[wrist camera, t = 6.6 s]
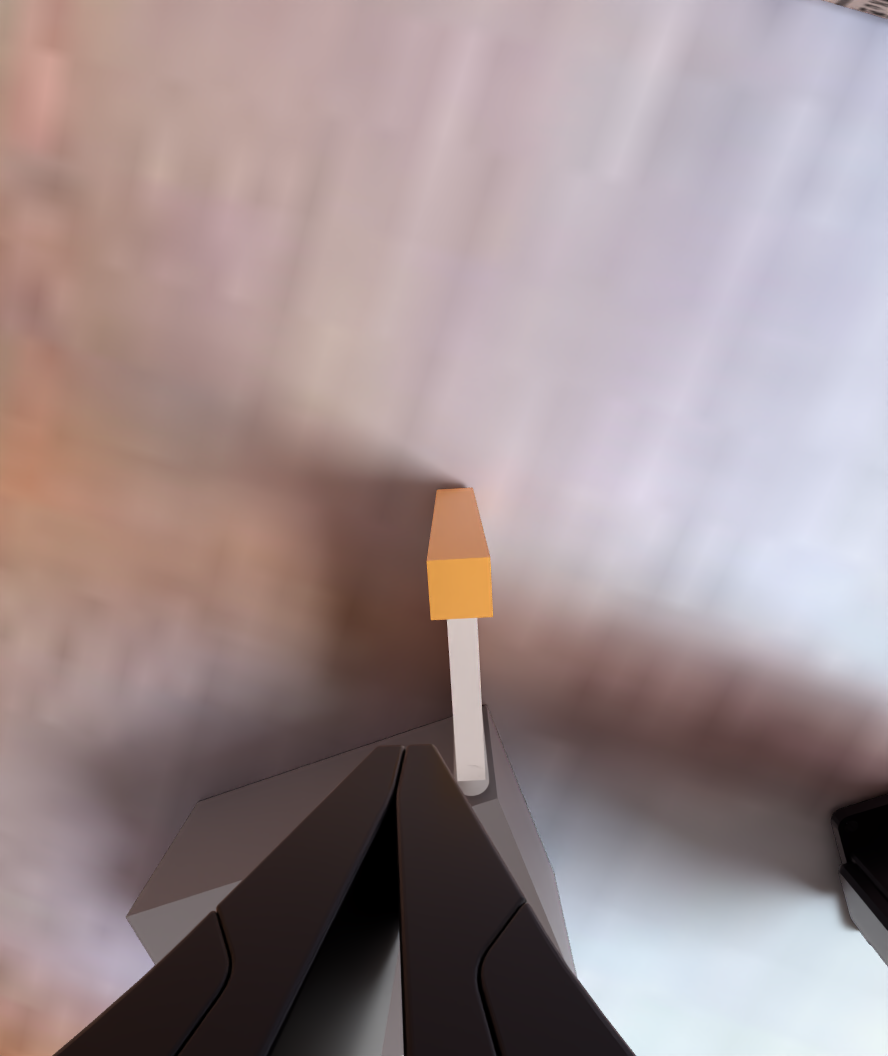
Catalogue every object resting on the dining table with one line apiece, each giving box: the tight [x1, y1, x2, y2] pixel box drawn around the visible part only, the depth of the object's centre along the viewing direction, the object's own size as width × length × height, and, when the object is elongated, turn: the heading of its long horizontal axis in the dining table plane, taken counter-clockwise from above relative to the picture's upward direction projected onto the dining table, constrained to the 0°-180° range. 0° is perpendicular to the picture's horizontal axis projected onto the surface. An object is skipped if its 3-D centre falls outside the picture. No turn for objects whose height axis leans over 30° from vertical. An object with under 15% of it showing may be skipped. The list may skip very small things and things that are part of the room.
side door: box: [427, 488, 493, 796], centre depth 16 cm, size 8×1×8 cm, turn 4°
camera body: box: [126, 705, 577, 1056], centre depth 20 cm, size 14×8×6 cm, turn 111°
